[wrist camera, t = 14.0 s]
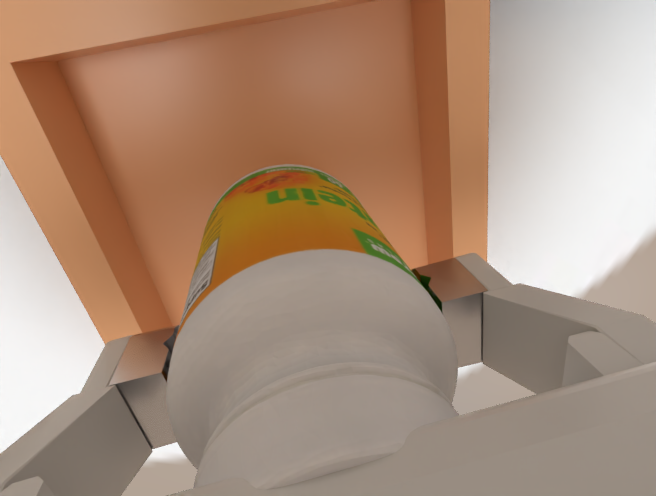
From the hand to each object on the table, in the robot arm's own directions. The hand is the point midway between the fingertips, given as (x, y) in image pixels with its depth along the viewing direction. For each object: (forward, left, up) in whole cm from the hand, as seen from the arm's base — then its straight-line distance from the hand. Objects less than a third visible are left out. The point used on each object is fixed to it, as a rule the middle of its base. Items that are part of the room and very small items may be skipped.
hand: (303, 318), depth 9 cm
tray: (0, 0, -10) cm, 10 cm away
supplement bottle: (0, 0, -5) cm, 5 cm away
